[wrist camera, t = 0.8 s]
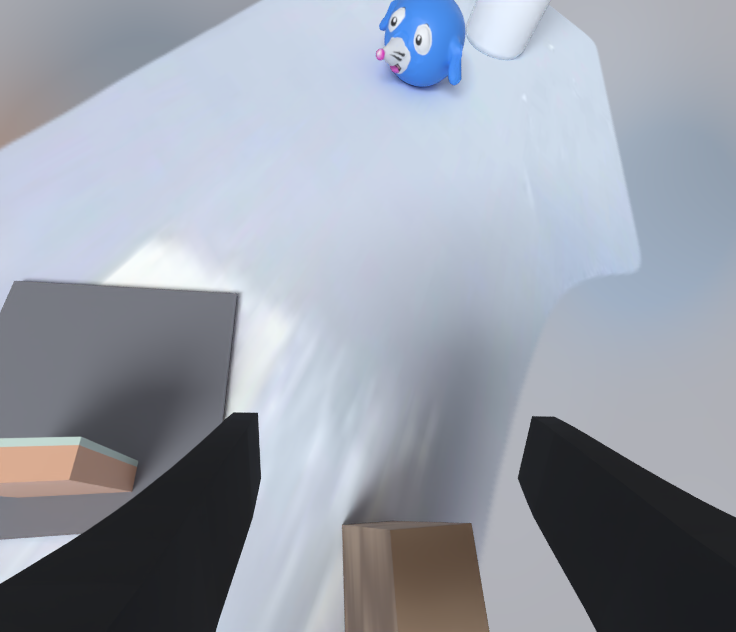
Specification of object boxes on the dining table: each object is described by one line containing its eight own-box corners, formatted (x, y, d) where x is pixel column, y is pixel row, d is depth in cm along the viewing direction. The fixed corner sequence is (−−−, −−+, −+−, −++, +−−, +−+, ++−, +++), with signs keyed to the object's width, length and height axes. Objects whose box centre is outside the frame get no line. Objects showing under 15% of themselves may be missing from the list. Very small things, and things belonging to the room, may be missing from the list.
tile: (132, 491, 19) (69, 480, 13) (17, 497, 18) (-108, 487, 12) (138, 461, 20) (81, 436, 14) (28, 464, 19) (-85, 440, 13)
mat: (211, 524, 20) (210, 524, 19) (-96, 546, 17) (-104, 547, 17) (237, 296, 26) (236, 293, 26) (18, 284, 23) (14, 280, 23)
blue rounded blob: (330, 66, 42) (342, -28, 35) (398, 43, 48) (421, -41, 40) (407, 129, 40) (437, 43, 32) (469, 98, 45) (506, 18, 38)
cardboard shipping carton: (401, 630, 20) (504, 717, 11) (345, 638, 19) (406, 738, 10) (392, 520, 22) (471, 523, 13) (342, 524, 21) (389, 530, 13)
